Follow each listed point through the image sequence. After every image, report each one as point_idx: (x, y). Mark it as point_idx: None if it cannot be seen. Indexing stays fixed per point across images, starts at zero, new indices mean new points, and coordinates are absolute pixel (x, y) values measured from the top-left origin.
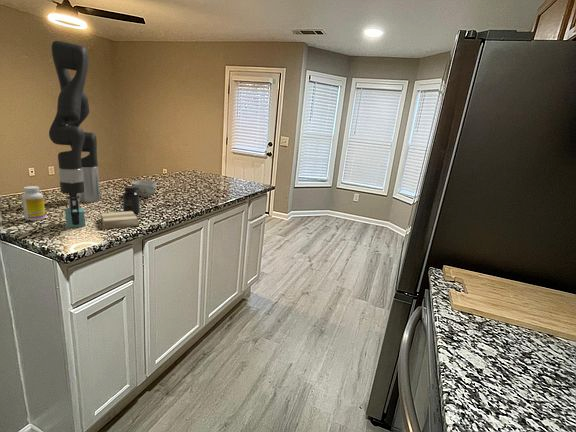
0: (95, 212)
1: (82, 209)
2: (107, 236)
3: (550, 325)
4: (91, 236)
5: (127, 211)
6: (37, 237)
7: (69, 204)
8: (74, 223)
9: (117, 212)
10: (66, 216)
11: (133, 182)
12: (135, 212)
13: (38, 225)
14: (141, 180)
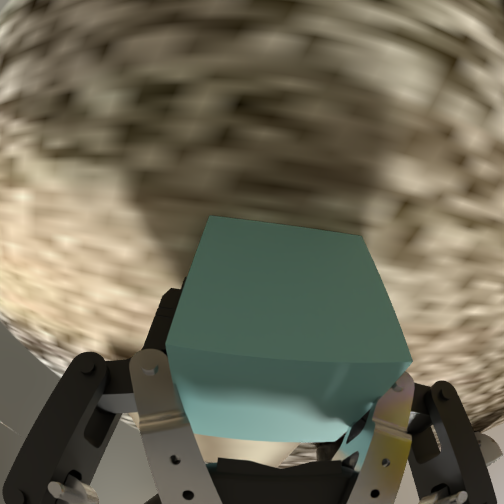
0: (447, 374)
1: (271, 439)
2: (37, 337)
3: None
4: (29, 296)
5: (275, 463)
6: (40, 20)
7: (160, 490)
8: (168, 294)
9: (279, 452)
10: (180, 306)
11: (501, 453)
12: (316, 452)
13: (404, 19)
14: (493, 462)
